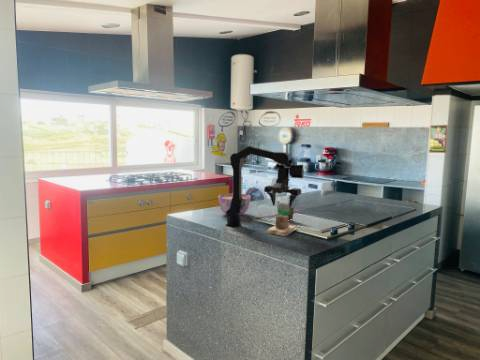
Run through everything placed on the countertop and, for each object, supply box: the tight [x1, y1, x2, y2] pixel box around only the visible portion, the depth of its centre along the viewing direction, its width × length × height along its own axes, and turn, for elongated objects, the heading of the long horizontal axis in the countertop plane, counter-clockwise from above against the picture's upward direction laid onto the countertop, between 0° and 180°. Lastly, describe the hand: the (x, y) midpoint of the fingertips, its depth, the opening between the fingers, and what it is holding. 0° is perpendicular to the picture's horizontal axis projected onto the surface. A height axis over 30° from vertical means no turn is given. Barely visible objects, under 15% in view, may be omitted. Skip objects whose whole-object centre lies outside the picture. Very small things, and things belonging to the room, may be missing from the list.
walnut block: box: [275, 214, 289, 229], centre depth 193 cm, size 5×5×6 cm
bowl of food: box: [217, 192, 252, 217], centre depth 226 cm, size 20×20×12 cm
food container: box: [275, 200, 296, 220], centre depth 216 cm, size 12×6×10 cm, turn 45°
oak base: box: [266, 224, 296, 237], centre depth 193 cm, size 10×14×2 cm
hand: (281, 206), depth 193 cm, fingers open, 9 cm apart
